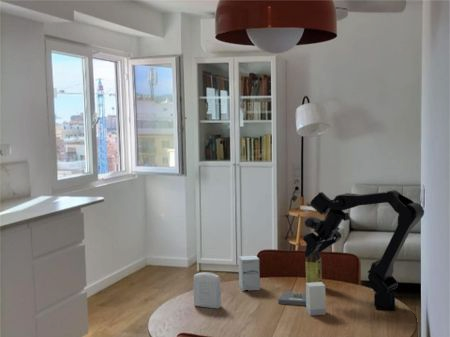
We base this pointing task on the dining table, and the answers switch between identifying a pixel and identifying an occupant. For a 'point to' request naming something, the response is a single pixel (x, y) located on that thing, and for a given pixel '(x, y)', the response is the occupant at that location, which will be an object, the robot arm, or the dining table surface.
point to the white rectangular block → (315, 298)
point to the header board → (293, 298)
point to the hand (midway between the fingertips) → (312, 254)
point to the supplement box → (249, 273)
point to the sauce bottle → (313, 268)
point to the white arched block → (207, 290)
